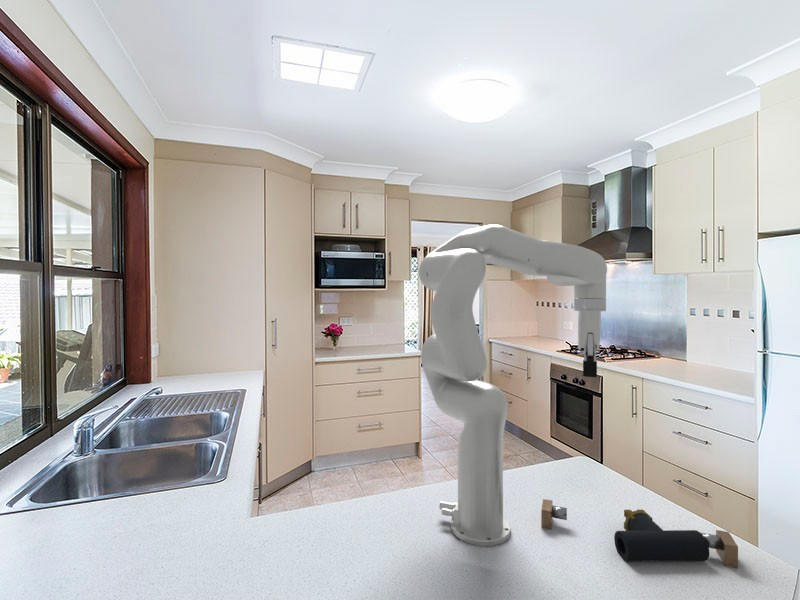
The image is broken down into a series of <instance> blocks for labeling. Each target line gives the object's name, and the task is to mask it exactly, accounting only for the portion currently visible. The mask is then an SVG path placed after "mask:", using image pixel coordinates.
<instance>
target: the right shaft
mask: <svg viewBox="0 0 800 600" xmlns="http://www.w3.org/2000/svg"><path fill="white" fill-rule="evenodd" d="M699 532H700V531H699ZM700 533H701V534H702V535H703V536H704V538H705V540H706V541H707V544H708V547H709V549H714V550H715V551H716V553H717V554H718V557H719V558H720V560H721V562H722V564H723V565H724V566H725V567H729V568H733V569H739V546H738V544H737V543H736V541H735V540H734V538H733V537H732V535H731V533H730V532H729V531H726V530H718V529H715V534H711V533H705V532H700Z"/></svg>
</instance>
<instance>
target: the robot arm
mask: <svg viewBox="0 0 800 600" xmlns="http://www.w3.org/2000/svg"><path fill="white" fill-rule="evenodd" d="M486 265H493V266H497V267H500V268H503V269H507V270H511V271H514V272H516V273H521V274H522V275H528V276H537V277H538V276H540V277H541V276H542V277H543V276H544V277H546V279H547V280H548V281H549V283H551V284H552V285H555V286H559V287H560V286H561V287H567V286H568V287H571V286H573V303H574V304H573V311H575V312H578V314H577V315H578V317H577V348H578V350H579V351H580V350H581V351H582V349H583V360H582V375H583V377H585V378H597V376H598V374H597V373H598V362H597V361H598V360H597V351H599V350H600V347H601V345H600V344H601V334H602V332H601V330H602V329H601V327H602V312H607V273H608V266H607V265H608V264H607V261H606V259H605V258H604V257H603V256H602V255H601V254H599V253H598V252H596V251H593V250H592V249H590V248H589V249H588V248H586V247H584V246H580V245H576V244H571V243H565V242H557V241H552V240H546V239H539V238H536V237H532V236H530V235H527V234H525V233H522V232H520V231H517V230H514V229H513V228H509V227H507V226H504V225H501V224H487V225H483V226H477V227H474V228H468V229H465V230H464V231H462V232H460V233H459V234H457V235H455V236H454V237H452V238H451V239H448V241H446V242H445V243H443V244H442V245H440V246H438V247H437V248H436V249H434V250H432V251H431V252H430V253H428V254H426V256H425V257H423V259H422V261H421V263H420V264H419V267H418V277H419V280H420V282H421V284H422V285H423V286H424V287H425V288H427V289H428V290H430V291H433V292H434V291H435V295H434V297H433V300H432V303H431V309H430V318H431V324H432V327H433V330H434V334H432V335H430V336H428V338H426V340H425V341H424V342H423V344H422V346H421V347H422V348H421V353H420V359H421V366H422V369H423V371H424V375H425V378H426V380H427V383H428V386H429V389H430V391H431V394H432V397H433V400H434V402H435V404H436V406H437V408H438V409H439V411H441V412H442V413H443V414H445V415H446V416H449V417H451V418H453V419H456V420H458V421H460V422H462V423H463V430H462V432H461V434H460V435H459V438H458V442H457V501H454V502H451V501H448V500H442V499H440V501H439V506H438V507H439V510H441V515H443V516H446V517H447V516H449V517H451V520H450V529H451V532H452V533H453V535H455V537H456V538H458V539H460V540H461V541H463V542H464V543H467V544H470V545H475V546H479V547H480V546H481V547H491V546H498V545H500V544H503V543H505V542H506V541H508V539H509V538H510V537H511V534H512V533H511V531H512V529H511V524H510V521H508V520H507V519H506V518H505V517H504V433H505V427H506V420H507V418H508V417H507V416H508V408H509V405H508V400H507V397H506V395H505V394H504V392H503V391H502V390H501V389H500V388H499V387H498V386H496V385H494V384H493V383H489V382H486V381H483V380H479V379H481V378H482V377H483V376H484V375H485V373H486V371H487V367H488V366H487V365H488V364H487V363H488V362H487V356H486V352H485V349H484V346H483V344H482V340H481V337H480V334H479V331H478V327H477V325H476V320H475V317H474V312H473V311H474V310H473V307H474V306H473V305H474V299H475V297H476V294H477V292H478V291H479V290H478V289H479V288H480V287H481V285H482V282H483V281H484V278H485V275H486V272H487V271H486V270H487V266H486Z"/></svg>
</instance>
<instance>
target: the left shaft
mask: <svg viewBox="0 0 800 600" xmlns="http://www.w3.org/2000/svg"><path fill="white" fill-rule="evenodd" d="M553 502H554V501H553V500H551V499H545V498H543V499H542V504H541V509H540V510H541V513H540V514H541V519H540V520H541V521H540V522H541V524H540V525H541V529H544V530H549V531H551V530H552V529H553V528H552V527H553V519H558V520H562V521H567V519H568V508H567V507H564V506H557V505H553Z"/></svg>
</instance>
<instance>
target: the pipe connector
mask: <svg viewBox="0 0 800 600" xmlns="http://www.w3.org/2000/svg"><path fill="white" fill-rule="evenodd" d="M623 516H624V518H625V521H624V522H623V529H624V530H616V531H615V533H614V538H613V539H614V540H613V541H614V546H615V549H616V552H617V555H619V557H620V558H621V559H622V561H624V562H693V561H694V562H697V561H699V562H702V561H703V562H705V561H708V560H709V558H710V548H709V547H708V544H707V541H706V540H705V538H704V536H703V535H702V534H701V533H702V532H701V533H700V531H699V530H697V529H692V530H691V529H688V530H685V529H684V530H683V529H682V530H681V529H679V530H678V529H677V530H675V529H673V530H669V529H668V530H663V529H662V528H661V527H660V526H659V525H658V524H657V523H656V522H655V521H654V520H653V517H652V516H651V515H649V514H648V513H647V512H646V511H645V510H644V509H636V510H631V509H624V510H623Z"/></svg>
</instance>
